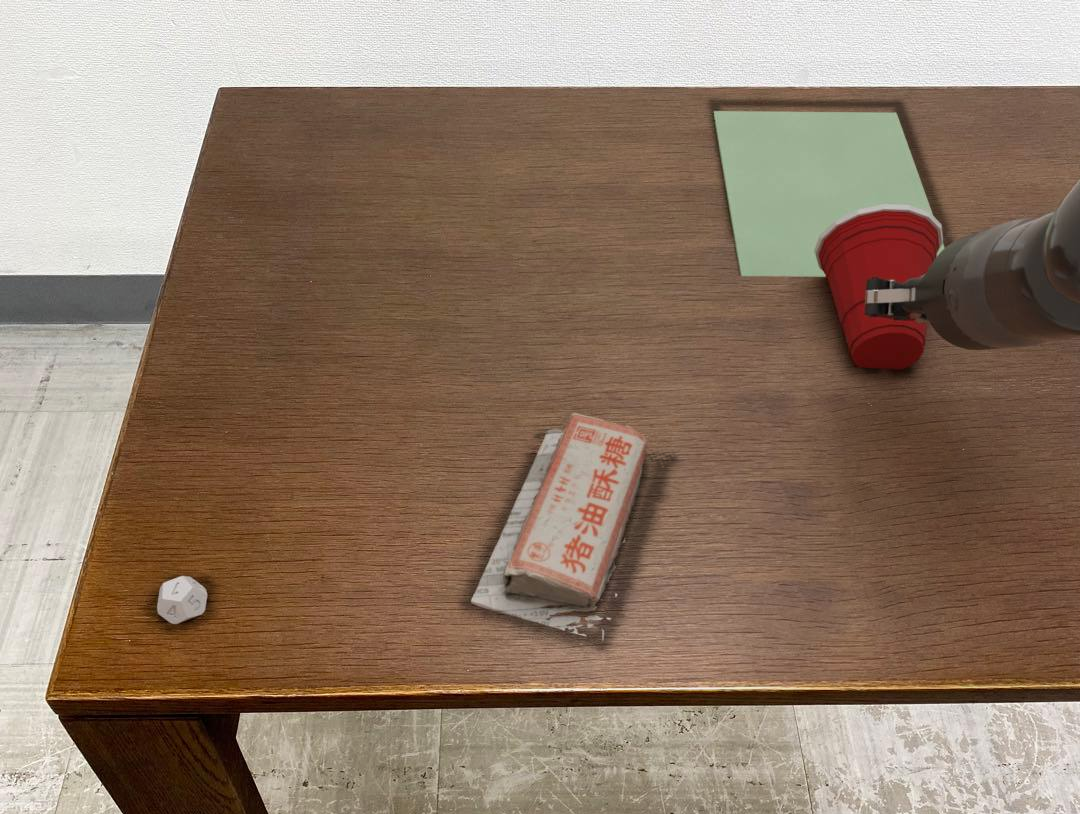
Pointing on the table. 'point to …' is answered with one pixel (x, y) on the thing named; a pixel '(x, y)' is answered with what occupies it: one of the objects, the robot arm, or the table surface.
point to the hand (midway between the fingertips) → (909, 306)
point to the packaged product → (566, 524)
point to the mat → (808, 180)
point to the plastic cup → (878, 251)
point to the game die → (181, 599)
